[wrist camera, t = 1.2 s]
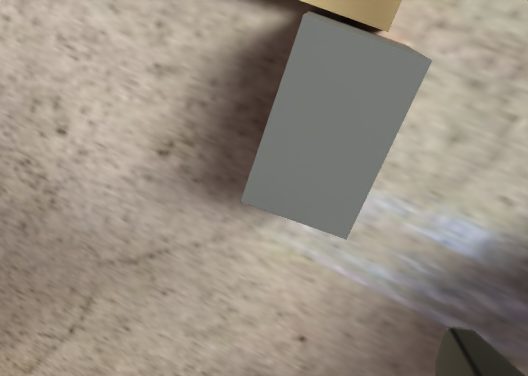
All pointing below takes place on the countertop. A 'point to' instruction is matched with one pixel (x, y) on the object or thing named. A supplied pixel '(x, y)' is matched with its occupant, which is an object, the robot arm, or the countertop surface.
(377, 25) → the board
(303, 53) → the block
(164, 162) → the countertop surface
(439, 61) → the countertop surface
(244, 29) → the countertop surface
